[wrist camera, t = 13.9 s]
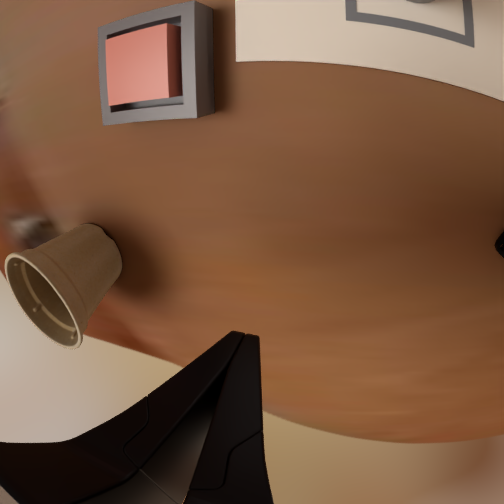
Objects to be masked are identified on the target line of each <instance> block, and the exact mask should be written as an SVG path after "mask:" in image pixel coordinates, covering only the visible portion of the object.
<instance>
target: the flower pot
mask: <svg viewBox="0 0 504 504" xmlns="http://www.w3.org/2000/svg"><path fill="white" fill-rule="evenodd" d="M121 270H122V260H121V255H120V252H119V250H118V248H117V246H116V244H115V242H114V241H113V240H112V239H110V238H109V237H108V236H107V235H106V234H105V233H104V232H103V229H102V228H100V227H98V226H96V225H93V224H82V225H80V226H78V227H76V228H74V229H73V230H71V231H69V232H66V233H64V234H62V235H60V236H58V237H56V238H54V239H52V240H50V241H48V242H46V243H44V244H42V245H40V246H38V247H37V248H35V249H28V250H25V251H23V252H21V253H18V252H14V253H11V254H10V255H8V257H7V258H6V261H5V273H6V278H7V281H8V284H9V287H10V289H11V291H12V293H13V295H14V297H15V299H16V301H17V303H18V304H19V306H20V307H21V309H22V310H23V312H24V313H25V315H26V316H27V317H28V318H29V320H30V321H31V322H32V323H33V324H34V326H35V327H37V329H38V330H39V331H41V332H42V333H43V334H44V335H45V336H46V337H47V338H49V339H50V340H51V341H53V342H54V343H56V344H58V345H60V346H62V347H65V348H68V349H76V348H78V347H79V346H80V345H81V343H82V339H83V333H84V331H85V330H86V328H87V324H88V320H89V318H90V317H91V315H92V314H93V312H94V311H95V309H96V308H97V306H98V305H99V303H100V302H101V300H102V299H103V297H104V296H105V294H106V293H107V292H108V290H109V289H110V287H111V286H112V285H113V283H114V282H115V281H116V279H117V278H118V277H119V275H120V273H121Z"/></svg>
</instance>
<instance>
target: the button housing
mask: <svg viewBox="0 0 504 504" xmlns="http://www.w3.org/2000/svg"><path fill="white" fill-rule="evenodd" d="M165 23H168V24H172V25H177V26H181V53H182V85H183V96H177V97H170V98H162V99H153V100H145V101H137V102H130V103H124V104H118V105H112V106H109V103H108V90H107V73H106V40H107V39H110V38H113V37H116V36H119V35H123V34H126V33H130V32H133V31H137V30H140V29H144V28H148V27H152V26H156V25H161V24H165ZM98 64H99V83H100V97H101V109H102V119H103V126H105V125H113V124H121V123H130V122H140V121H151V120H165V119H181V118H198V117H202V116H205V115H209V114H213V113H215V105H214V69H213V9H212V8H210V7H208V6H205V5H203V4H201V3H199V2H197V1H189V2H184V3H180V4H175V5H171V6H166V7H162V8H158V9H154V10H151V11H147V12H143V13H140V14H137V15H133V16H130V17H127V18H124V19H121V20H118V21H115V22H112V23H109V24H106V25H104V26H101V27H98Z"/></svg>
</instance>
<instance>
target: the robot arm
mask: <svg viewBox="0 0 504 504" xmlns="http://www.w3.org/2000/svg"><path fill="white" fill-rule="evenodd" d="M502 244H503V246H502V247H500V246H501V245H502ZM495 248H496V250H497V251H498V253H499V254H500V255H501V256H502V257H503V258H504V232H503V233H502V234H501V236H500V237H499V238H498V240H497V241H496V243H495ZM185 496H186V498H185ZM184 498H185V500H184ZM183 500H184V502H183ZM182 502H183V504H274V503H273V498H272V493H271V489H270V484H269V479H268V474H267V468H266V462H265V453H264V435H263V412H262V387H261V362H260V338H259V336H258V335H253V334H246V335H245V333H243V332H238V331H231V332H230V333H228V334H227V335H226V336H225V337H223V338H222V339H221V340H219V341H218V342H217V343H216V344H214V345H213V346H212V347H211V348H209V349H208V350H207V351H205V352H204V353H203V354H202V355H200V356H199V357H198V358H196V359H195V360H194V361H192V362H191V363H190V364H189V365H187V366H186V367H185V368H183V369H182V370H181V371H179V372H178V373H177V374H175V375H174V376H173V377H172V378H170V379H169V380H167V381H166V382H165V383H163V384H162V385H161V386H160V387H158V388H157V389H155V390H154V391H152V392H151V393H150V394H148V397H147V396H145V397H144V398H143V399H141V400H140V401H139V402H137V403H136V404H134V405H133V406H131V407H130V408H128V409H127V410H125V411H124V412H122V413H120V414H119V415H117V416H115V417H114V418H112V419H110V420H108V421H106V422H105V423H103V424H101V425H99V426H97V427H95V428H93V429H91V430H89V431H87V432H85V433H83V434H82V435H79V436H77V437H75V438H73V439H70V440H66V441H62V442H53V443H6V442H0V504H182Z"/></svg>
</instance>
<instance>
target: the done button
mask: <svg viewBox="0 0 504 504" xmlns="http://www.w3.org/2000/svg"><path fill="white" fill-rule="evenodd" d="M106 73H107V90H108V103H109V106H112V105H118V104H124V103H130V102H137V101H145V100H153V99H162V98H170V97H177V96H183V85H182V53H181V26H177V25H172V24H168V23H165V24H161V25H156V26H152V27H148V28H144V29H140V30H137V31H133V32H130V33H126V34H123V35H119V36H116V37H113V38H110V39H107V40H106Z"/></svg>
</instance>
